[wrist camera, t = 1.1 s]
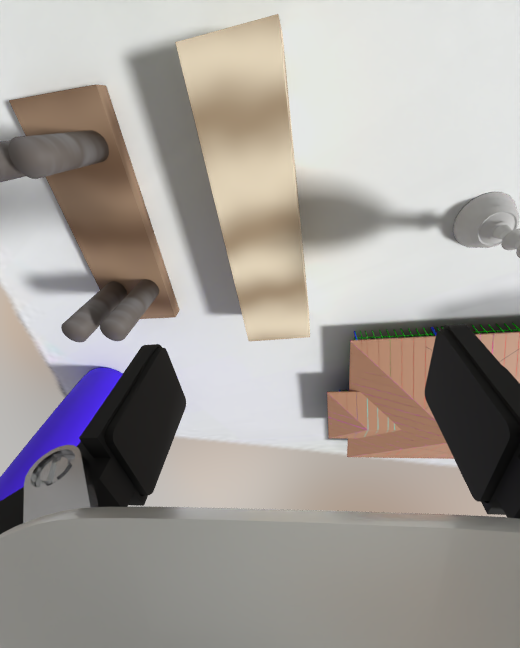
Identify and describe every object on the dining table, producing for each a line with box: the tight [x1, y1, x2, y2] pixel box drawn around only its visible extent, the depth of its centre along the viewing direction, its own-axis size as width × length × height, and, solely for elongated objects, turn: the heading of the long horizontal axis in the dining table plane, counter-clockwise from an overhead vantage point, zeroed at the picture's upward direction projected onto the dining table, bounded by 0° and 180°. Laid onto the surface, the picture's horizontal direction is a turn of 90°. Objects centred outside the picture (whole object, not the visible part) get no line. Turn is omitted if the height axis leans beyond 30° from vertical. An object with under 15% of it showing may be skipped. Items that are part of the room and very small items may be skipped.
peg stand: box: [0, 85, 179, 342], centre depth 28 cm, size 22×8×10 cm, turn 7°
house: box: [327, 323, 520, 459], centre depth 37 cm, size 23×33×8 cm
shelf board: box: [175, 14, 310, 341], centre depth 27 cm, size 24×6×6 cm, turn 10°
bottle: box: [0, 368, 123, 501], centre depth 35 cm, size 8×8×30 cm
